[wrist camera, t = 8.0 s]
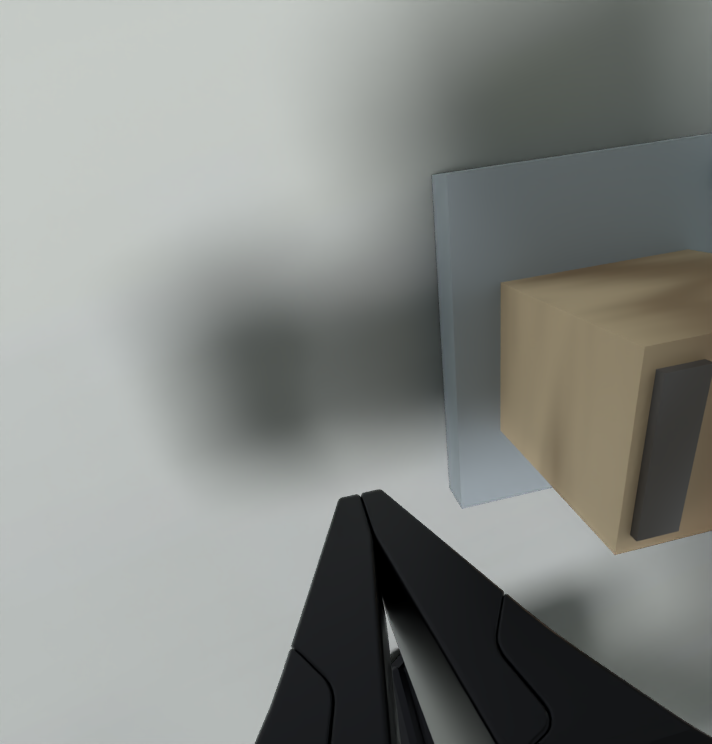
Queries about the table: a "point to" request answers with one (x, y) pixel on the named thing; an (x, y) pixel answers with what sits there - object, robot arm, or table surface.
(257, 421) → the table surface
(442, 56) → the table surface
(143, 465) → the table surface
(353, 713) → the robot arm
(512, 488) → the dock
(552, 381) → the cardboard box with slot
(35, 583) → the table surface
